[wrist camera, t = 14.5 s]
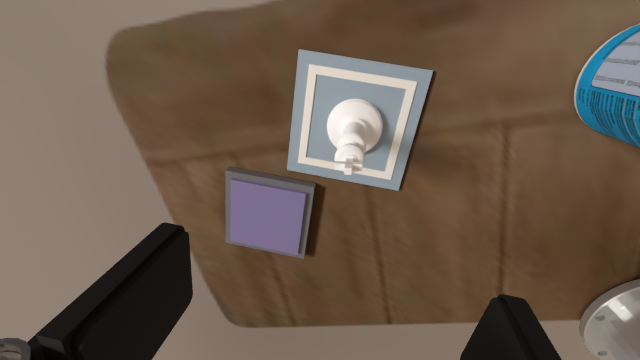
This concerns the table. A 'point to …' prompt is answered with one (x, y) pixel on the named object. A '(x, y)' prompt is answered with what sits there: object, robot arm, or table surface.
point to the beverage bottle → (612, 88)
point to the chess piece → (353, 133)
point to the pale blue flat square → (355, 83)
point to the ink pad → (268, 211)
